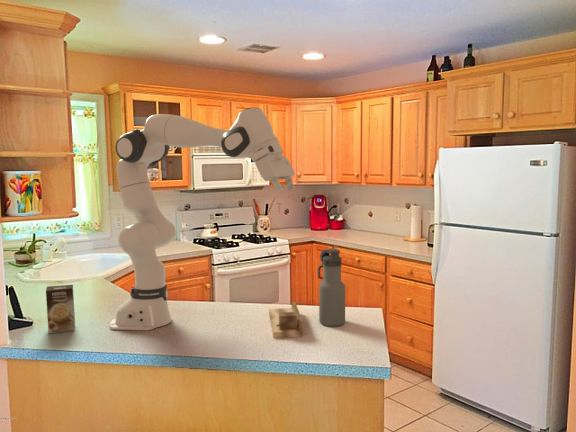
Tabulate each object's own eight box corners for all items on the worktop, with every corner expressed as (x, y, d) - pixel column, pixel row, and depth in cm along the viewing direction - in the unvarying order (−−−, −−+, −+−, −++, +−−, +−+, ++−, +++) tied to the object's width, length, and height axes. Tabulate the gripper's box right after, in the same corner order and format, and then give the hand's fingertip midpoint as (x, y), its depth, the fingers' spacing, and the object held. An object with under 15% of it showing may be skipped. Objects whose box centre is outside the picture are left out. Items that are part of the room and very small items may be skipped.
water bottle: (313, 321, 189) (313, 248, 186) (333, 316, 195) (333, 246, 191) (329, 328, 181) (329, 253, 177) (350, 323, 186) (350, 250, 183)
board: (273, 337, 173) (273, 325, 172) (269, 313, 199) (268, 303, 198) (303, 336, 174) (303, 324, 173) (295, 312, 200) (295, 302, 199)
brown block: (276, 330, 175) (276, 316, 174) (276, 326, 179) (275, 312, 178) (296, 329, 175) (296, 315, 175) (295, 325, 179) (295, 311, 179)
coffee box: (47, 334, 179) (44, 290, 177) (49, 328, 185) (46, 286, 183) (75, 330, 182) (72, 288, 180) (76, 325, 188) (73, 283, 186)
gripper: (273, 157, 174) (290, 192, 173) (248, 157, 155) (266, 197, 154) (288, 148, 172) (305, 185, 171) (264, 147, 153) (283, 188, 152)
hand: (287, 190), depth 162 cm, fingers open, 8 cm apart
